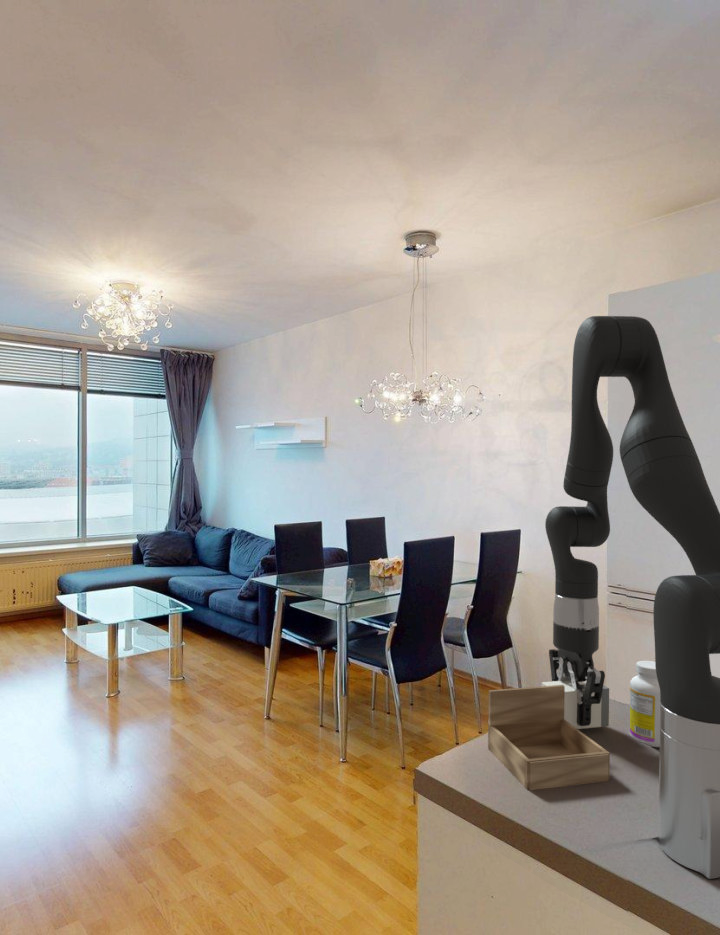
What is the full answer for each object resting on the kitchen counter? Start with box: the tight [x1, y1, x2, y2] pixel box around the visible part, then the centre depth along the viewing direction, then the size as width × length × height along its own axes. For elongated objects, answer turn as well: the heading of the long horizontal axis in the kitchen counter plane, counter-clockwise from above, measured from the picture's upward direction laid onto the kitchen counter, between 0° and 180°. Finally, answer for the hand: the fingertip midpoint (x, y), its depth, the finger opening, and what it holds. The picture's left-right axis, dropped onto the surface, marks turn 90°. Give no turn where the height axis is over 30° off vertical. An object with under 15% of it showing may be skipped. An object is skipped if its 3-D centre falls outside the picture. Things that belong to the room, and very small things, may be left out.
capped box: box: [541, 680, 610, 730], centre depth 108 cm, size 10×5×6 cm, turn 103°
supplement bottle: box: [629, 660, 660, 748], centre depth 105 cm, size 7×7×13 cm
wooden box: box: [487, 685, 611, 791], centre depth 95 cm, size 13×13×10 cm
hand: (574, 717), depth 108 cm, fingers closed on capped box, 5 cm apart
